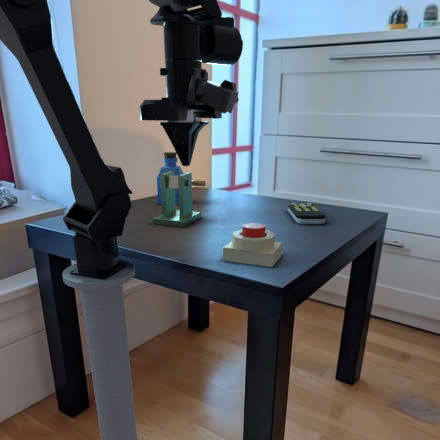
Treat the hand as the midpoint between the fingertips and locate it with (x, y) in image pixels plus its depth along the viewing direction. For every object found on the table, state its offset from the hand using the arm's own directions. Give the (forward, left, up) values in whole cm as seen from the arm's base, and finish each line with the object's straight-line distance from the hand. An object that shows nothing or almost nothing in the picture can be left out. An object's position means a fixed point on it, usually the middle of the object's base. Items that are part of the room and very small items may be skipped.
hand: (186, 165), depth 71 cm
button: (-6, -14, -9) cm, 18 cm away
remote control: (+25, -17, -13) cm, 33 cm away
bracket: (+12, +8, -13) cm, 19 cm away
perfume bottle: (+29, +18, -13) cm, 37 cm away
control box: (-6, -14, -13) cm, 20 cm away
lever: (+15, +8, -7) cm, 19 cm away
